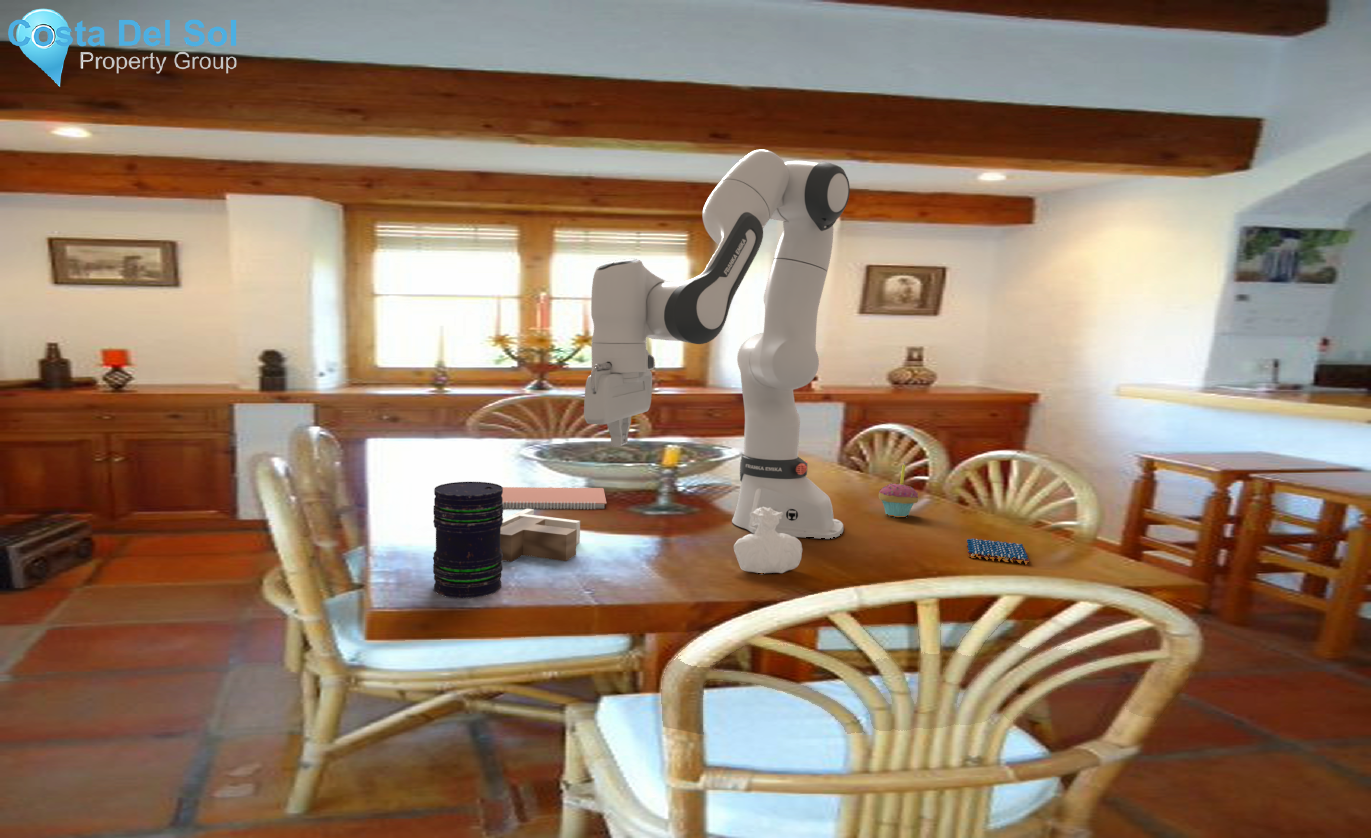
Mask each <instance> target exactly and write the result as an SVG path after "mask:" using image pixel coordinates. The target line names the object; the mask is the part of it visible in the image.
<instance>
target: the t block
mask: <svg viewBox="0 0 1371 838" xmlns="http://www.w3.org/2000/svg"><path fill="white" fill-rule="evenodd" d="M576 539H577V529H569V528H561V527H553V526H545V519H539V518H531V517H523V518H521V519H519V520H517V521H515V522H512V523H510V524H508V525H506V526H503V527H501V533H500V548H501V550H502V554H503V557H502V562H510V563H512V562H514V561H516V560H517V559H519V558H520V557H523V556H525V557H532V558H538V559H539V558H540V559H545V560H546V559H547V560H554V561H562V562H567V561H569V560H571V559H572V558H574V557H575V556H577V544H576Z"/></svg>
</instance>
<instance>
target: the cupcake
mask: <svg viewBox="0 0 1371 838" xmlns="http://www.w3.org/2000/svg"><path fill="white" fill-rule="evenodd" d="M905 471H906V460H905V461H903V464H902V466H901V474H900V481H899V483H889V484H887V485H885V486H883V487H882V488H881V489H879V492H878V498H879V500H880V501H881V503H882V504H883V508H884V511H885V515H886V514H888V515H894V516H907V515H908V516H909V514H910V511H911V510H912V508H913V506H914V504H917V503H918V501H919V492H917V491H916V489H915V488H913V487H912V486H909V485H907V484H904V481H905V480H904V479H905V473H906V472H905Z"/></svg>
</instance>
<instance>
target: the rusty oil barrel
mask: <svg viewBox="0 0 1371 838" xmlns="http://www.w3.org/2000/svg"><path fill="white" fill-rule="evenodd" d="M503 487H504V486H501V485H500V484H497V483H493V482H486V481H457V482H449V483H444V484H440V485H437V486H435V487H434V488H433V493H434V496H435V497H434V498H433V499H434V503H433V504H434V505H433V526H434V528H435V550H434V552H433V557H432V559H433V564H432V565H433V567H432V568H433V569H432V572H433V580H434V584H433V591H434V592H435V593H436V592H437V593H438V594H437V593H436V594H437V595H439V596H441V595H443V596H442V597H445V596H446V597H445V598H450V599H475V598H476V599H477V598H482V597H486V595H487V596H490V595H493V594H495V593H497V592H499V591H500V590H501V588H502V581H501V579H502V574H503V573H502V571H503V562H504V561H502V557H503V554H502V550H501V548H500V533H501V526H502V523H503V518H504V517H503V514H504V509H503V504H502V502H503V498H502V493H503Z"/></svg>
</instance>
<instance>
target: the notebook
mask: <svg viewBox="0 0 1371 838" xmlns="http://www.w3.org/2000/svg"><path fill="white" fill-rule="evenodd" d="M502 487H503V493H502V498H503V502H502V504H503V510H504V509H505V510H511V509H512V510H514V509H516V510H518V509H519V510H521V509H522V510H525V509H534V510H535V509H536V510H538V509H540V510H542V509H543V510H545V509H546V510H549V509H550V510H552V509H553V510H559V509H560V510H562V509H563V510H569V509H570V510H572V509H573V510H579V509H580V510H582V509H583V510H587V511H588V510H589V509H590V510H597V509H599V510H600V509H601V510H604V509H605V505H607V499H606V495H605V490H604V488H603V487H532V486H531V487H523V486H522V487H518V486H513V487H512V486H509V487H508V486H502Z"/></svg>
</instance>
